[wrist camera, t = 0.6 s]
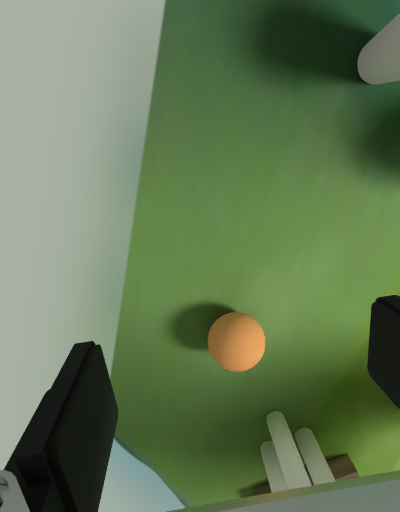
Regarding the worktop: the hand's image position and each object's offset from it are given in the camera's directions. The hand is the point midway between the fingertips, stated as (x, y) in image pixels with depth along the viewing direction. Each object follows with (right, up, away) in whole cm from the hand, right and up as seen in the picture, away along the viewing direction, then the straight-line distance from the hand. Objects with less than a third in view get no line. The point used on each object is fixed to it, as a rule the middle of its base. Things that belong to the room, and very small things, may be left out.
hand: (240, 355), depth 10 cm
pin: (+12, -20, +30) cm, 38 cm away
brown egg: (+2, -6, +21) cm, 22 cm away
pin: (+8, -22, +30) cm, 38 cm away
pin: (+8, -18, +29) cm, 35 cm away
